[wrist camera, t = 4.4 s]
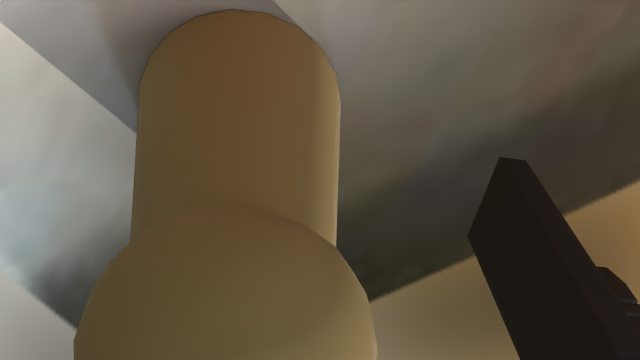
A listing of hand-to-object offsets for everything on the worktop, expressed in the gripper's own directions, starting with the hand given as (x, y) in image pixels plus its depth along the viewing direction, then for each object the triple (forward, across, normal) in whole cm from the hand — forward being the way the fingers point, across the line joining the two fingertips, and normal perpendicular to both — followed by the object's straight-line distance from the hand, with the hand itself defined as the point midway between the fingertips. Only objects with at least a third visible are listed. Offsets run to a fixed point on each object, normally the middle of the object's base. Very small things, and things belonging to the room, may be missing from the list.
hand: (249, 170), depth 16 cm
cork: (+4, 0, 0) cm, 4 cm away
